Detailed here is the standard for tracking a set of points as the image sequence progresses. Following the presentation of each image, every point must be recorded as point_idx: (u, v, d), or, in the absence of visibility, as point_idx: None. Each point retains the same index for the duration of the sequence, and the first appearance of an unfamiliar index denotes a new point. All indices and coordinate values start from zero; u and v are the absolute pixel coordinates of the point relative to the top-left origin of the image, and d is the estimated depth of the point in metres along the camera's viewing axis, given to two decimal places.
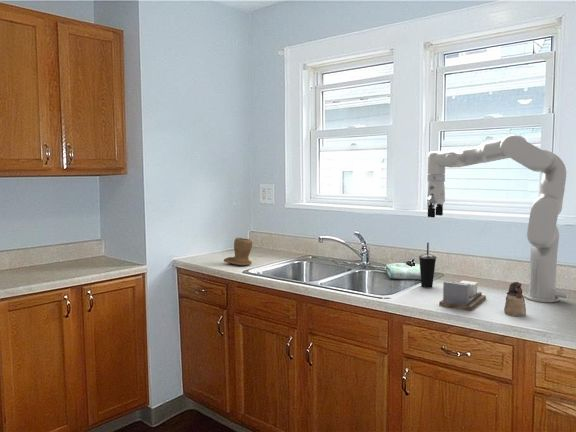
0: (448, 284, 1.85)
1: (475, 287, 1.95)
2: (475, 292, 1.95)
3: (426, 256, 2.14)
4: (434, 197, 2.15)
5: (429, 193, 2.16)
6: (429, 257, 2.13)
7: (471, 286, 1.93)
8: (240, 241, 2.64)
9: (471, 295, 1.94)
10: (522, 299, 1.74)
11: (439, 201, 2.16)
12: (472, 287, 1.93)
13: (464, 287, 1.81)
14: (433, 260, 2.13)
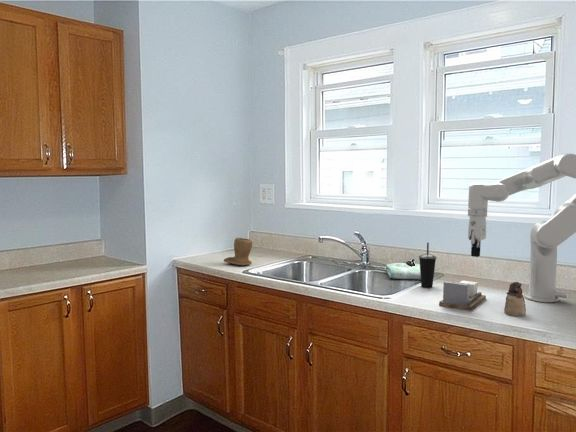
0: (448, 284, 1.85)
1: (475, 287, 1.95)
2: (475, 292, 1.95)
3: (426, 256, 2.14)
4: (476, 239, 1.98)
5: (470, 229, 1.99)
6: (429, 257, 2.13)
7: (471, 286, 1.93)
8: (240, 241, 2.64)
9: (471, 295, 1.94)
10: (522, 299, 1.74)
11: (481, 238, 1.99)
12: (472, 287, 1.93)
13: (464, 287, 1.81)
14: (433, 260, 2.13)
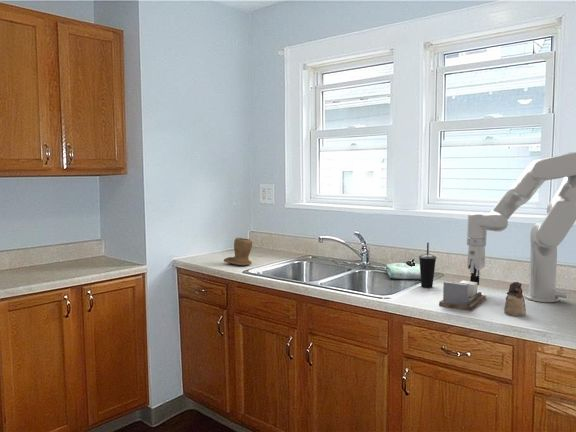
0: (448, 284, 1.85)
1: (475, 287, 1.95)
2: (475, 292, 1.95)
3: (426, 256, 2.14)
4: (475, 268, 2.00)
5: (469, 258, 2.00)
6: (429, 257, 2.13)
7: (471, 286, 1.93)
8: (240, 241, 2.64)
9: (471, 295, 1.94)
10: (522, 299, 1.74)
11: (480, 267, 2.00)
12: (472, 287, 1.93)
13: (464, 287, 1.81)
14: (433, 260, 2.13)
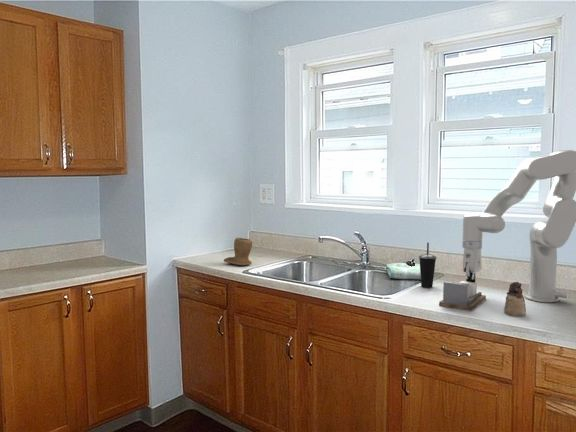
0: (448, 284, 1.85)
1: (474, 287, 1.94)
2: (474, 293, 1.94)
3: (426, 256, 2.14)
4: (471, 271, 1.95)
5: (465, 261, 1.95)
6: (429, 257, 2.13)
7: (470, 286, 1.92)
8: (240, 241, 2.64)
9: (470, 296, 1.93)
10: (522, 299, 1.74)
11: (476, 270, 1.95)
12: (471, 287, 1.92)
13: (464, 287, 1.81)
14: (433, 260, 2.13)
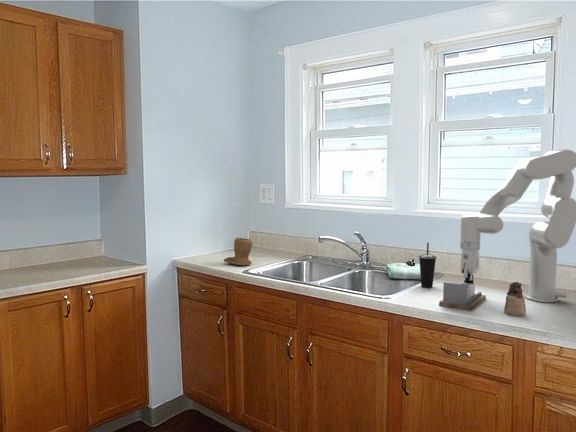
0: (448, 284, 1.85)
1: (472, 289, 1.92)
2: (472, 294, 1.92)
3: (426, 256, 2.14)
4: (469, 273, 1.93)
5: (463, 262, 1.93)
6: (429, 257, 2.13)
7: None
8: (240, 241, 2.64)
9: None
10: (522, 299, 1.74)
11: (474, 271, 1.93)
12: None
13: (464, 287, 1.81)
14: (433, 260, 2.13)
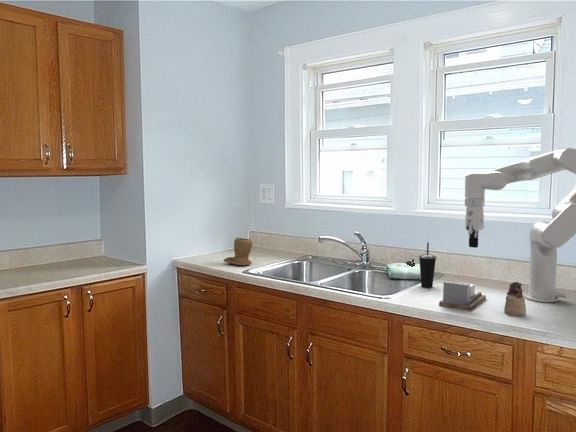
0: (448, 284, 1.85)
1: (472, 289, 1.91)
2: (472, 294, 1.92)
3: (426, 256, 2.14)
4: (474, 229, 1.94)
5: (467, 219, 1.94)
6: (429, 257, 2.13)
7: None
8: (240, 241, 2.64)
9: None
10: (522, 299, 1.74)
11: (478, 228, 1.94)
12: None
13: (464, 287, 1.81)
14: (433, 260, 2.13)
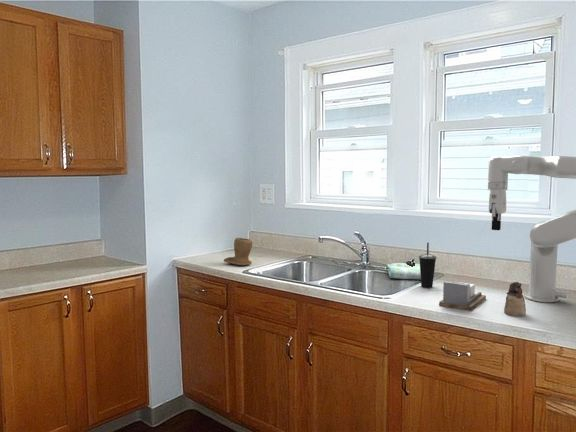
0: (448, 284, 1.85)
1: (472, 289, 1.91)
2: (472, 294, 1.92)
3: (426, 256, 2.14)
4: (497, 212, 1.98)
5: (491, 202, 1.99)
6: (429, 257, 2.13)
7: None
8: (240, 241, 2.64)
9: None
10: (522, 299, 1.74)
11: (502, 211, 1.99)
12: None
13: (464, 287, 1.81)
14: (433, 260, 2.13)
